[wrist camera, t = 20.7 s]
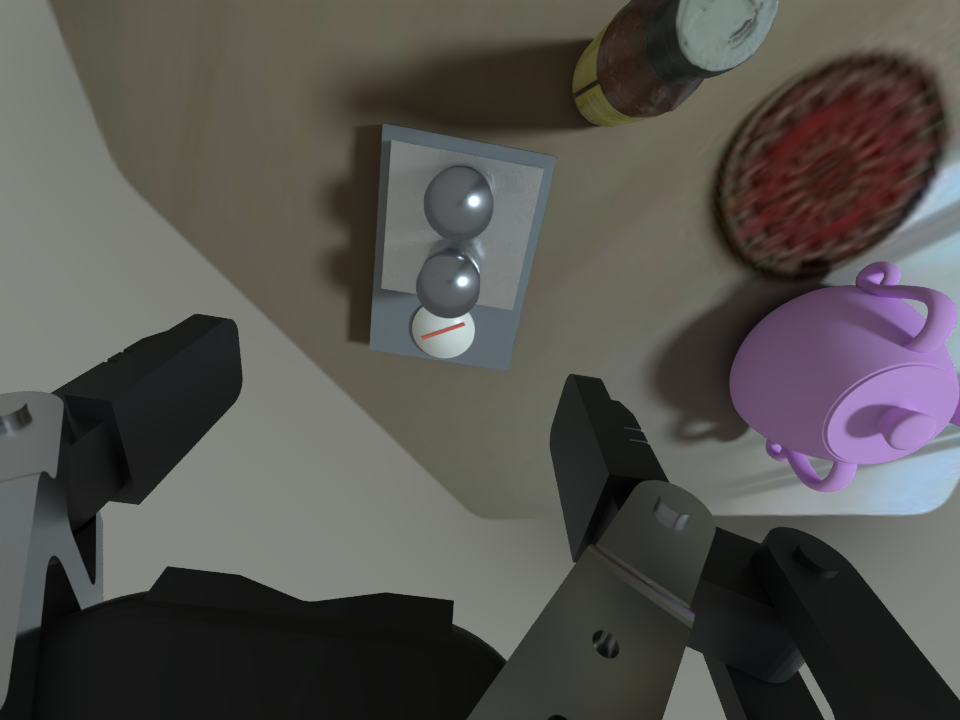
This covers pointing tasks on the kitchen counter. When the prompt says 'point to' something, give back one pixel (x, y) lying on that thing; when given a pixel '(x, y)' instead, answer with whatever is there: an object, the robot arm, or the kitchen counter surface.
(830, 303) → the teapot
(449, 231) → the cylinder
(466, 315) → the scale
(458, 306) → the cylinder
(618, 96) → the sauce bottle
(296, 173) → the kitchen counter surface
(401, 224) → the pan
